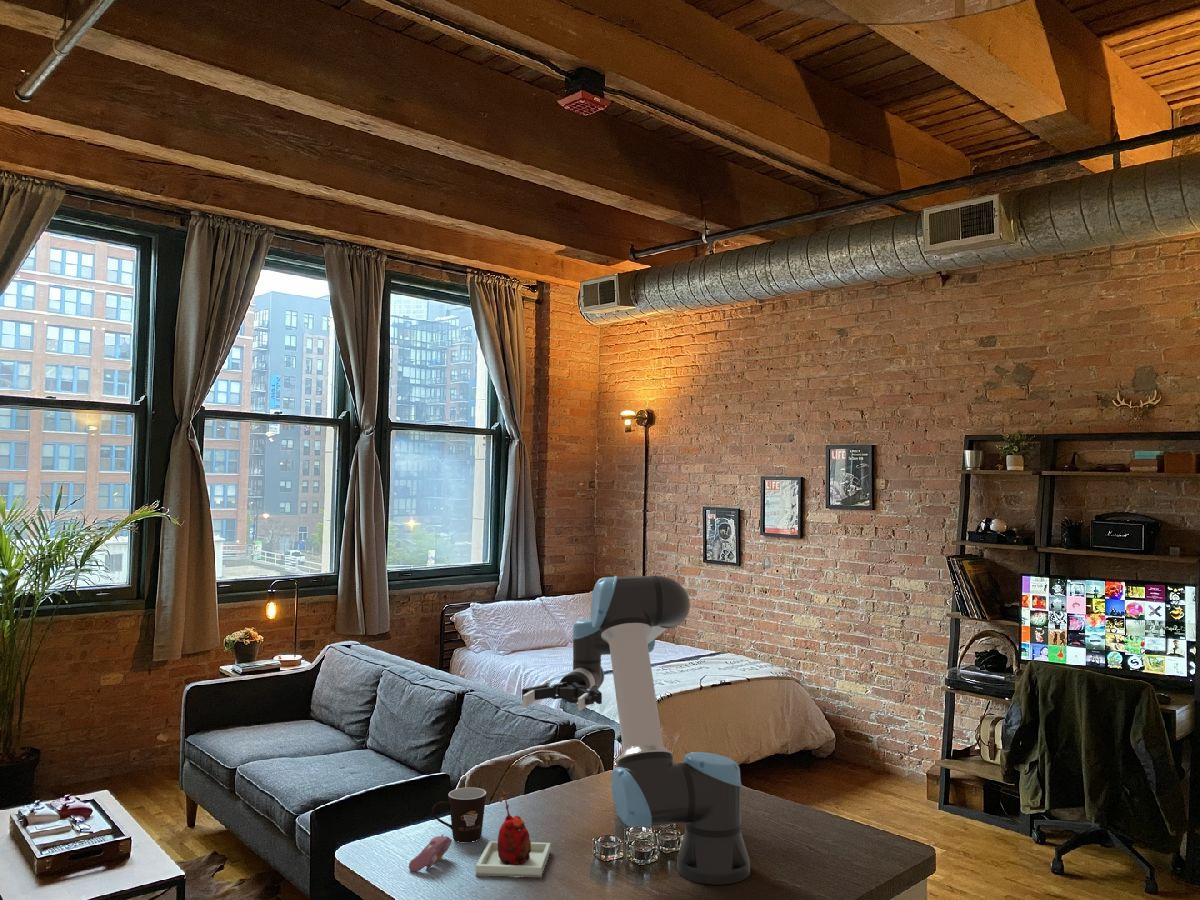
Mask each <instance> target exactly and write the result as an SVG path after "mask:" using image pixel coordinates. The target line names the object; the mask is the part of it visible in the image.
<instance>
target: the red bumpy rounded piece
mask: <svg viewBox="0 0 1200 900" xmlns="http://www.w3.org/2000/svg"><path fill="white" fill-rule="evenodd" d="M500 790H501V791H502V793H503V794H500V796H502V797H499V798H498V802H499V803H502V802H503V800H504V801H505V809H506V813H507V816H506V817H505V820H504V821H503V822H502V824H501V826H500V828H499V831H498V835H497V841H498V856H499V858H500V860H501V861H502V862H503V863H504V864H505V865H509V864H510V865H520V864H523V863H525V862H526V860H528V859H529V858H530V855H529V853H530V852H531V842H532V841H531V839H530V833H529V830H528V829H527V827H526V824H525V821H524V820H523V819H522V817H521V816H519V815H514V816H512V815H511V813H510V810H509V807H510V805H509V804H508V801H507V795H508V794H509V793H511V792H510V791H507V793H506V792H505V790H504V788H500Z"/></svg>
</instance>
